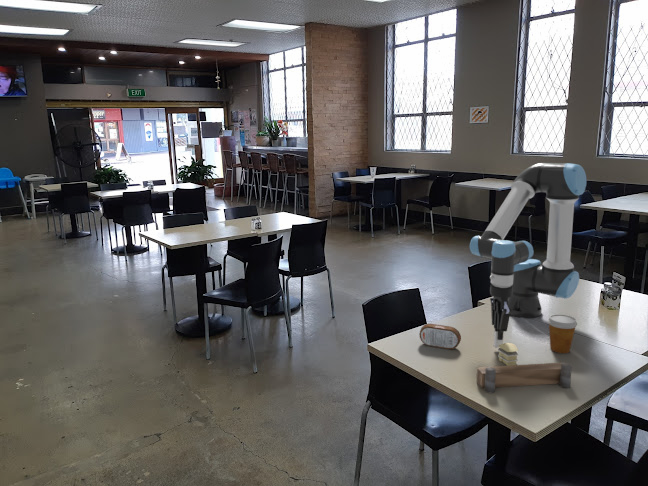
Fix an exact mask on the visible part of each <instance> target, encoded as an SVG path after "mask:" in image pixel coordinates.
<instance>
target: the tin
mask: <svg viewBox="0 0 648 486" xmlns="http://www.w3.org/2000/svg"><path fill="white" fill-rule="evenodd" d="M418 336H419V339H420V341H421V342H422V343H423V344H424V345H426V346H427V347H431V348H433V347H434V348H439V349H445V350H454V349H456V348H457V347H458V346H459V344H460V343H461V341H462V336H461V333H460V331H459V330H458V329H457V328H456V327H453V326H449V325H442V324H436V323H426V324H424V325H422V326H421V328H420V331H419V335H418Z"/></svg>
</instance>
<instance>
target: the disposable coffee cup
mask: <svg viewBox="0 0 648 486" xmlns="http://www.w3.org/2000/svg"><path fill="white" fill-rule="evenodd" d="M547 322H548V326H549V327H548V329H549V331H548V332H549V341H550V343H549V345H550V350H551V351H553V352H555V353H558V354H569V353H570V351H571V349H572V348H571V347H572V342H573V338H574V335H575V331H576V330H575V329H576V327H577V326H578V322H577V320H576V317H574V316H572V315H567V314H562V313H561V314H560V313H555V314H551V315H549V317H548V319H547Z"/></svg>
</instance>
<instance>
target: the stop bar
mask: <svg viewBox="0 0 648 486" xmlns="http://www.w3.org/2000/svg"><path fill="white" fill-rule="evenodd" d="M572 368H573V365H572V364H571V363H569V362H561V361H560V362H550V363H549V362H548V363H547V362H546V363H530V364H529V363H528V364H516V365H510V366H507V365H497V366H496V365H495V366H483V367H481V366H480V367H479V366H478V367H477V368H476V383H477V384H478V386H479V387H480V389H484V392H486V393H490V394H493V393H495V392H496V388H505V387H507V388H509V387H525V386H539V385H550V384H551V385H554V384H556V385H557V384H558V385H559V387H561V388H564V389H569V388H570V387H571V381H572V371H573V370H572Z"/></svg>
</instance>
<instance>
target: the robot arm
mask: <svg viewBox="0 0 648 486" xmlns="http://www.w3.org/2000/svg"><path fill="white" fill-rule="evenodd" d="M586 187H587V174H586V172H585V169H584V168H583V166H582V165H580V164H578V163H577V164H576V163H570V162H568V163H567V162H538V163H536V164H532V165H531V166H529V167H527V168H526V169H524V170H523V171H521V173H520V174H518V176H516V178H515V179H514V180H513V181H512V183H511V185H510V189H511V190H510V191H509V193H508V194H507V196H506V197H505V199H504V201H503V202H502V204H501V205H500V207H499V208H498V210H497V212H496V213H495V215H494V216H493V218H492V219H491V221H490V223H489V224H488V225H487V227H486V229H485V230H484V231H483V233H482V235H475V236H473V237H472V238H471V240H470V242H469V250H470V251H469V252H470V253H471V254H472V255H474V256H478V257H481V258H487V259H491V266H490V267H491V268H490V276H489V279H490V285H489V286H490V287H489V294H490V295H491V297H490V298H489V301H490V308H491V309H490V310H491V311H490V313H491V325H492V326H493V328H494V334H493V337H494V338H493V347H494V348H495V349H497V348H498V349H499V348H500V347H499V345H501V344H504V332H507V331H508V327H509V326H508V325H509V321H510V318H511V316H513V317H517V318H524V319H525V318H526V319H530V318H538V317H540V316H542V309H543V308H542V305H541V302H540V298H539V294H542V295H546V296H550V297H554V298H557V299H558V298H559V299H560V298H561V299H569V298H571V297H572V296H573V295H574V293H575V292H576V290H577V288H578V285H579V281H580V274H579V272H578V271H577V270H574V269H575V266H574V264H573V263H572V262H571V256H572V255H571V251H572V236H573V223H574V213H575V203H576V202H577V201H578V200H579V199H580V195H583V194H584V193H585V191H586ZM537 193H545V194H546V195H545V196H546V197H545V198H546V199H547V200H548V202H549V214H548V215H549V217H548V230H547V231H548V232H547V247H546V248H547V250H546V259H545V260H544V261H543V262H541V261H540V259H534V258H532V257H534V253H535V252H534V247H533V245H532V244H531V243H530V242H528V241H526V240H519V241H512V240H507V239H506V240H505V238H506V236H507V235H508V234H509V231H510V230H511V228H512V226H513V225H514V223H515V221H516V220H517V218H518V217H519V215H520V214H521V212H522V211H523V209H524V207H525V205H526V204H527V203H528V201H529V200H530V199H532V198H534V197H535V194H537ZM541 264H542V265H541Z"/></svg>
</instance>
